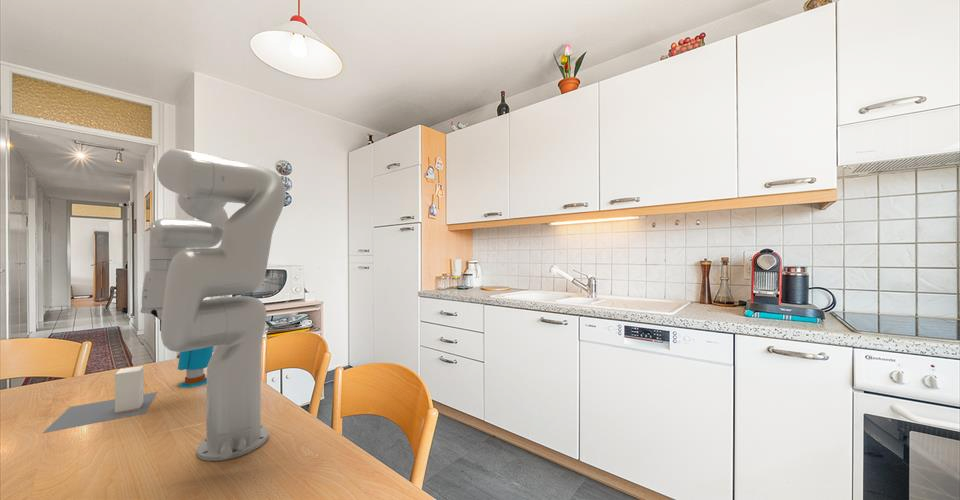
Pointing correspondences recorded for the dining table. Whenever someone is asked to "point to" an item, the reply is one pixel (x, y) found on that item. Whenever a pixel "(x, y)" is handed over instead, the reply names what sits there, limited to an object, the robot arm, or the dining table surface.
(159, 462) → the dining table surface
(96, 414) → the mat
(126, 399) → the block
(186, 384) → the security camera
